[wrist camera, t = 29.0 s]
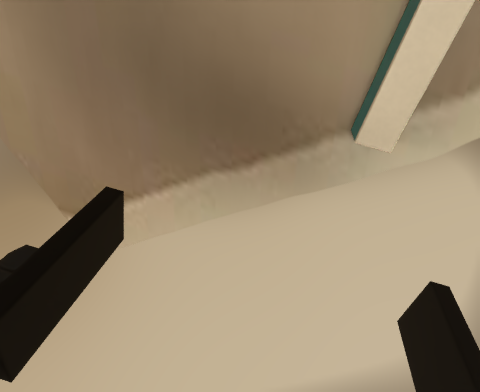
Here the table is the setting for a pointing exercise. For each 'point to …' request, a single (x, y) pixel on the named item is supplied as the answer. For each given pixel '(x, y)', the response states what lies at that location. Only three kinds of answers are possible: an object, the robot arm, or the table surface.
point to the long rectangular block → (407, 70)
